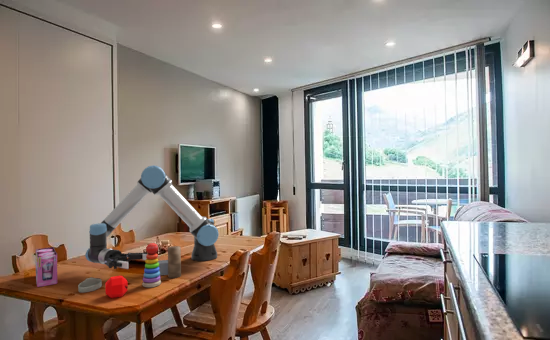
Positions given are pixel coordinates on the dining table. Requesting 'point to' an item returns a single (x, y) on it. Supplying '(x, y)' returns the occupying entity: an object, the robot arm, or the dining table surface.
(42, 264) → the gum box
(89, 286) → the grey oval piece
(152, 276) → the stacking toy
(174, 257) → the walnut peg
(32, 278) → the dining table surface
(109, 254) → the robot arm
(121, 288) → the ball
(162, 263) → the grey cube
